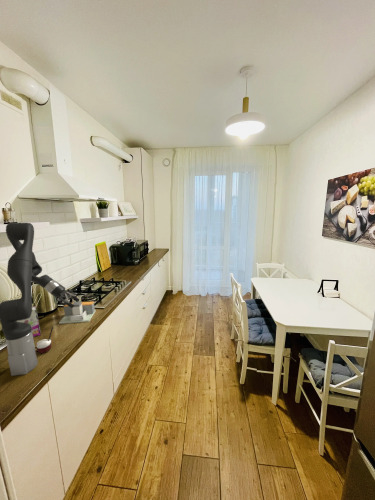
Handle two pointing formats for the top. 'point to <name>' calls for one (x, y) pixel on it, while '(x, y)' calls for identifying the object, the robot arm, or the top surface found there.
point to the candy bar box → (33, 322)
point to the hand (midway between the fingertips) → (76, 303)
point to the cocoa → (44, 344)
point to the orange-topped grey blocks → (85, 317)
